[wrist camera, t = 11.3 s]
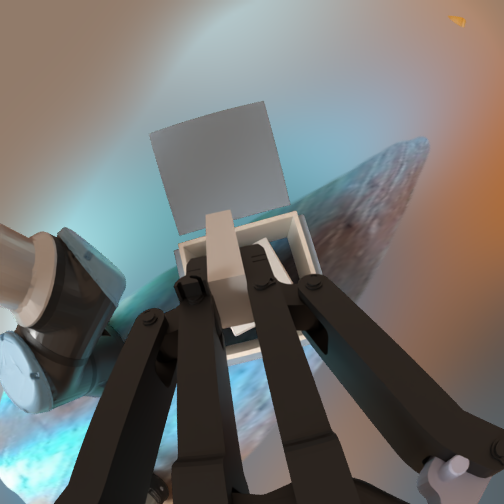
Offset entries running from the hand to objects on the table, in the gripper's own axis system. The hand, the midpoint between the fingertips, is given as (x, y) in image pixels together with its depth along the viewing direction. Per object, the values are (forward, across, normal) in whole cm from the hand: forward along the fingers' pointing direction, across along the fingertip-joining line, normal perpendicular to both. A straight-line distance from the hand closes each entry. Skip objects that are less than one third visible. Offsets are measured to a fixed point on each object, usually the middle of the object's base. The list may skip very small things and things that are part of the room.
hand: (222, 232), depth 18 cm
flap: (+19, +1, -9) cm, 21 cm away
